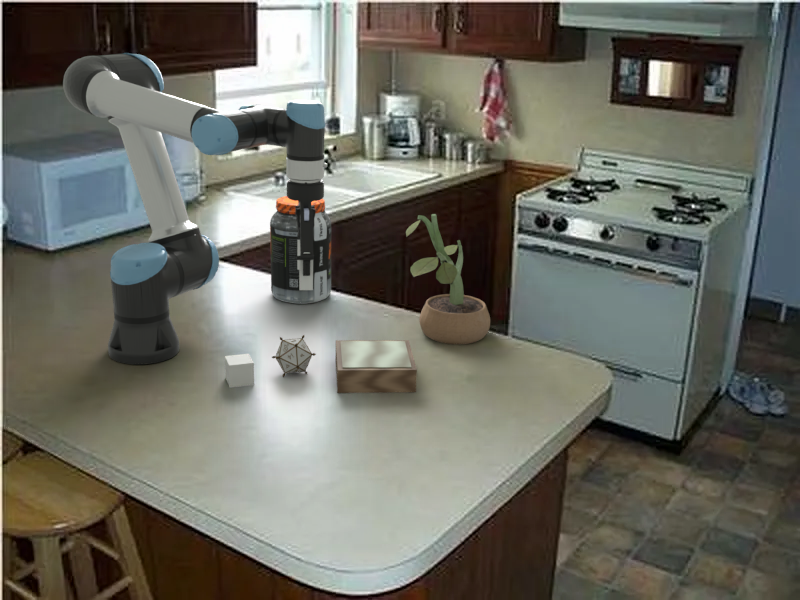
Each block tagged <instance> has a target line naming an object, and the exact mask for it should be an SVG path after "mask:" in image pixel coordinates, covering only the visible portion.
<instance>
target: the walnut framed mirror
mask: <svg viewBox="0 0 800 600" xmlns="http://www.w3.org/2000/svg"><path fill="white" fill-rule="evenodd" d="M417 369H418V368H417V366H416V362H415V357H414V354H413V351H412V347H411V343H410V340H409V339H405V340H401V339H400V340H397V339H395V340H393V339H392V340H390V339H389V340H388V339H386V340H385V339H384V340H383V339H382V340H381V339H379V340H378V339H377V340H370V339H366V340H363V339H362V340H361V339H359V340H358V339H356V340H354V339H353V340H347V339H346V340H345V339H344V340H343V339H342V340H338V339H337V340H335V374H336V378H335V379H336V390H337V391H336V392H337V394H349V393H350V394H355V393H359V394H364V393H367V394H371V393H373V394H374V393H377V394H378V393H387V394H388V393H416V392H417V377H418V373H417V372H418V370H417Z"/></svg>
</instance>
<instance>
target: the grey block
mask: <svg viewBox="0 0 800 600" xmlns="http://www.w3.org/2000/svg"><path fill="white" fill-rule="evenodd" d="M254 365H255V363H254V361H253V359H252V357H251V355H250V353H241V354H233V355H225V356H224V369H225V370H224V371H225V372H224V373H225V379H226V382H227V384H228V386H229V388H230V389H231V388H238V387H247V386H254V385H255V366H254Z"/></svg>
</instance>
